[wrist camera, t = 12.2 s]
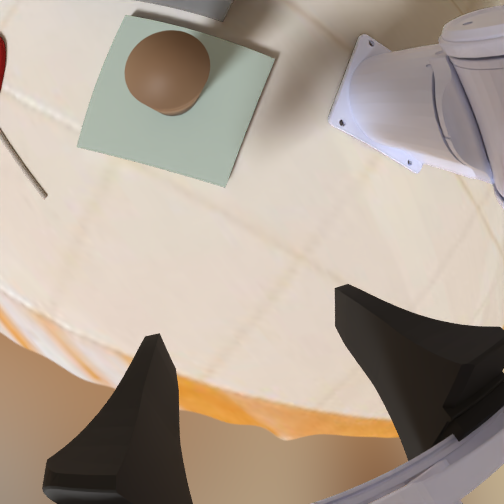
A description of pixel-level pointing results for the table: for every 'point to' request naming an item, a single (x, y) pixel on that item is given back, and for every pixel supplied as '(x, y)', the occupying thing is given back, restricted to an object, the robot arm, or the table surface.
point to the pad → (182, 126)
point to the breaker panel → (198, 6)
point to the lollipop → (0, 67)
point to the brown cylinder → (168, 71)
